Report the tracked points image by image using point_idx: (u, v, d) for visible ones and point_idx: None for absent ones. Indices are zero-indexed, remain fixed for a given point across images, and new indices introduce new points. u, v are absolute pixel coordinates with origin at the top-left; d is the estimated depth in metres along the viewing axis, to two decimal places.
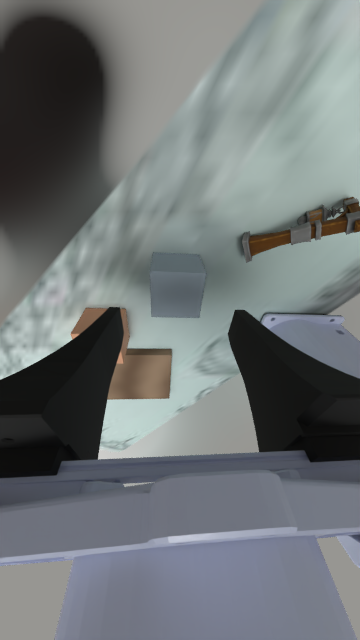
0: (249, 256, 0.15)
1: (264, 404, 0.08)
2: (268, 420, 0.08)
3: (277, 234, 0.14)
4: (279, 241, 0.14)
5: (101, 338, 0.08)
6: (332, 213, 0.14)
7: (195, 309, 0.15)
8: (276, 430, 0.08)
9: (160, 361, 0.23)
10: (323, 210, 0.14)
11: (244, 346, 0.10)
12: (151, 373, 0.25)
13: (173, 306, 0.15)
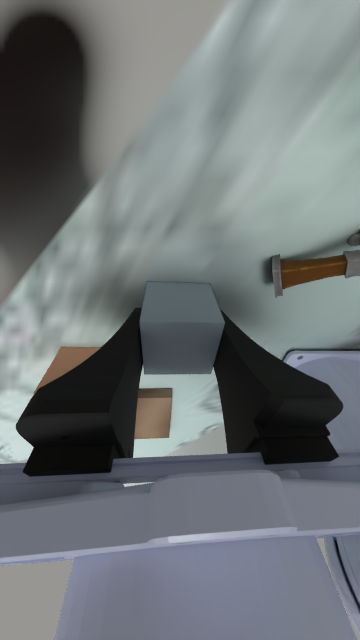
0: (280, 290, 0.11)
1: (231, 405, 0.08)
2: (234, 422, 0.08)
3: (324, 261, 0.10)
4: (327, 272, 0.10)
5: (135, 338, 0.09)
6: None
7: (206, 365, 0.11)
8: (239, 431, 0.07)
9: (158, 404, 0.19)
10: None
11: None
12: (147, 415, 0.20)
13: (175, 362, 0.10)
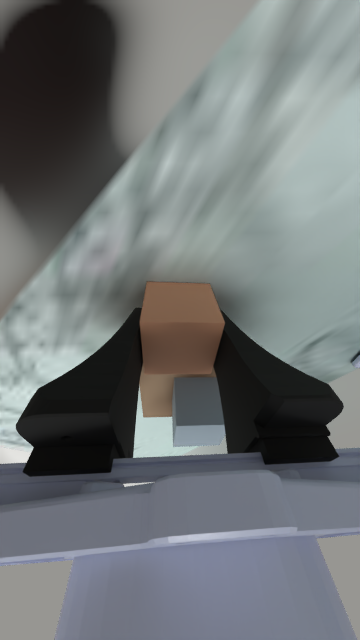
0: None
1: (231, 405, 0.08)
2: (234, 421, 0.08)
3: None
4: None
5: (135, 338, 0.09)
6: None
7: (216, 441, 0.15)
8: (239, 431, 0.07)
9: None
10: None
11: None
12: None
13: (195, 441, 0.15)
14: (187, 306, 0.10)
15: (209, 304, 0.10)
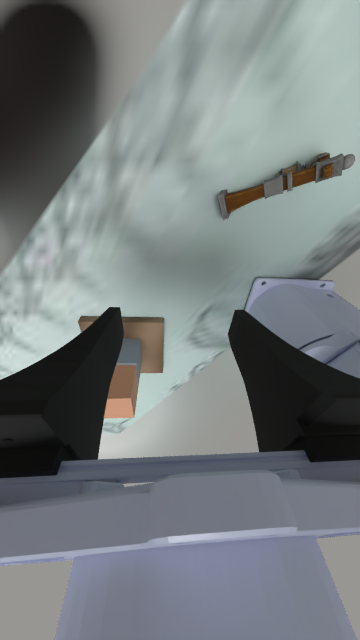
0: (225, 213, 0.15)
1: (264, 404, 0.08)
2: (268, 420, 0.08)
3: (252, 188, 0.14)
4: (253, 195, 0.14)
5: (101, 338, 0.08)
6: (305, 168, 0.14)
7: None
8: (276, 430, 0.08)
9: (152, 329, 0.23)
10: (296, 166, 0.14)
11: (244, 346, 0.10)
12: (143, 343, 0.25)
13: None
14: (115, 386, 0.19)
15: (128, 383, 0.19)
